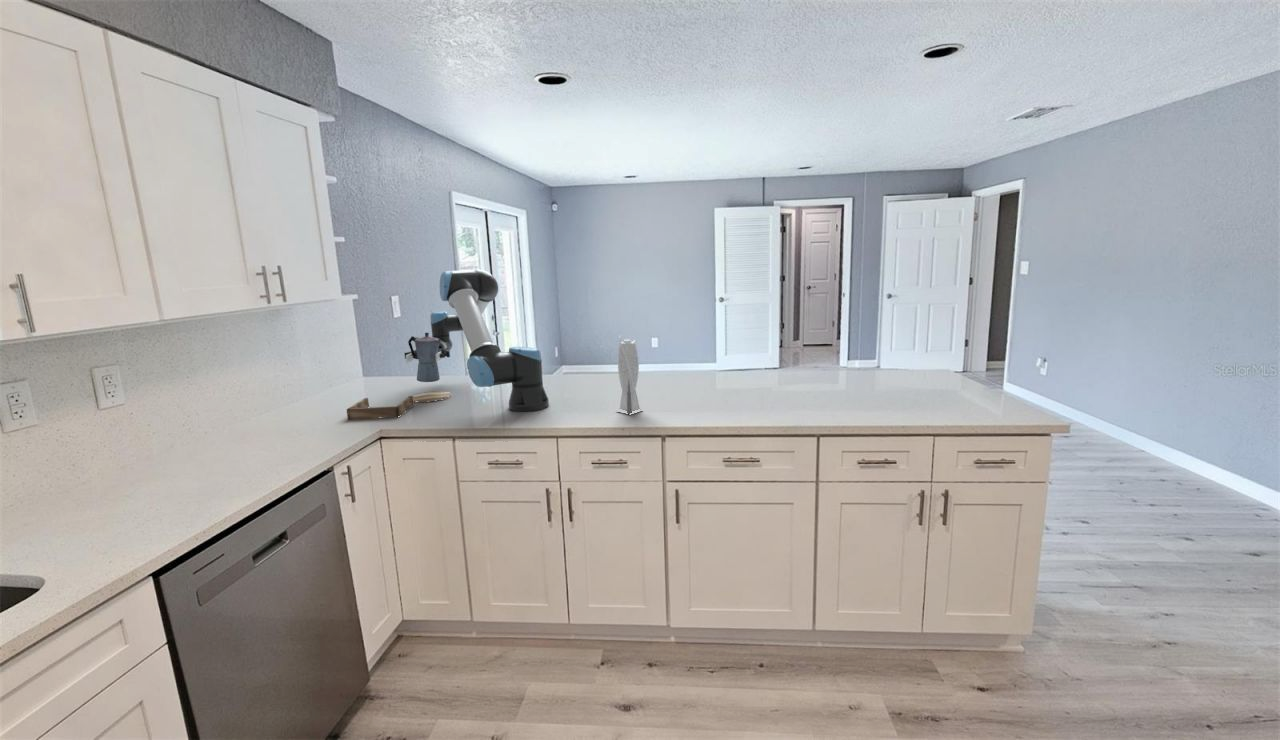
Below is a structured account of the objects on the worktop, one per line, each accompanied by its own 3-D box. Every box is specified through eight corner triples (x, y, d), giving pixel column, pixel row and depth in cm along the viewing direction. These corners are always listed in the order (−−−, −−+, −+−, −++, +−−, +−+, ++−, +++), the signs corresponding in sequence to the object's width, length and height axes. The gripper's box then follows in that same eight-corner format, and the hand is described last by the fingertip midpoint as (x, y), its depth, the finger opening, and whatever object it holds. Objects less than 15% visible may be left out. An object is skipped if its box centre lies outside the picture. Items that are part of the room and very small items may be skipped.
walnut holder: (366, 407, 223) (364, 398, 222) (413, 405, 225) (412, 395, 224) (347, 419, 207) (346, 409, 206) (399, 417, 208) (398, 407, 207)
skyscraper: (613, 411, 208) (610, 336, 202) (628, 406, 214) (626, 333, 208) (629, 415, 202) (627, 338, 196) (645, 410, 208) (643, 335, 202)
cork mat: (454, 398, 233) (454, 397, 233) (413, 404, 226) (413, 402, 226) (447, 391, 247) (446, 389, 247) (408, 396, 240) (407, 394, 239)
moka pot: (438, 383, 228) (434, 334, 224) (403, 382, 231) (399, 333, 227) (450, 378, 237) (447, 331, 233) (416, 377, 240) (413, 330, 236)
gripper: (464, 356, 252) (452, 366, 230) (410, 359, 250) (393, 368, 228) (462, 340, 250) (450, 347, 229) (408, 342, 248) (390, 350, 227)
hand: (421, 358), depth 228 cm, fingers closed on moka pot, 11 cm apart
